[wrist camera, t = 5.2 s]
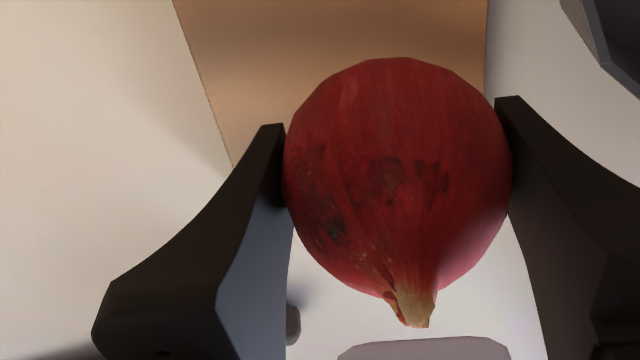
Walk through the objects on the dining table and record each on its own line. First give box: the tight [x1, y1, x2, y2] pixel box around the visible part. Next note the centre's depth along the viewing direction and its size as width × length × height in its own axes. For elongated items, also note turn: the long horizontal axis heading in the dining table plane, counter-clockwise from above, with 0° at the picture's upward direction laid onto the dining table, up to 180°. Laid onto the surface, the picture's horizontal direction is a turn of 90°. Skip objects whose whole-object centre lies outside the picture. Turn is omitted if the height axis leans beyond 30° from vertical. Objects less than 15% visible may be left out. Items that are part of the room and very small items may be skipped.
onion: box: [281, 57, 514, 328], centre depth 14 cm, size 6×6×8 cm
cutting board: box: [172, 0, 488, 169], centre depth 23 cm, size 20×12×2 cm, turn 9°
